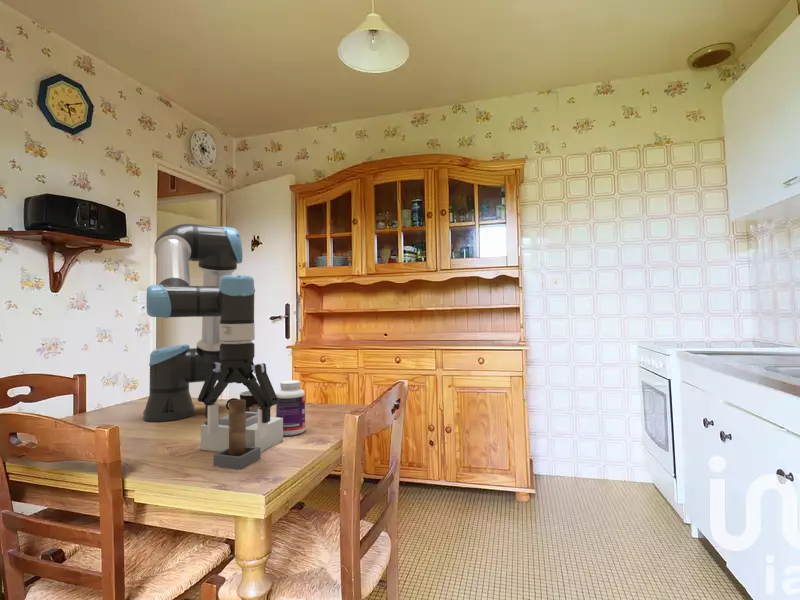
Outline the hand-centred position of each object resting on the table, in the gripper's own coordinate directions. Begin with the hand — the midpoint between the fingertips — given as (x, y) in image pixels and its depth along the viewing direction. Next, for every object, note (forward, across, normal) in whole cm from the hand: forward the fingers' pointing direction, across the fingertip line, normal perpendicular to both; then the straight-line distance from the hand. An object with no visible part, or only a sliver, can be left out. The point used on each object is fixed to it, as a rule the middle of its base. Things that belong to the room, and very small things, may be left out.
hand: (237, 434), depth 96 cm
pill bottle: (+6, -1, +24) cm, 25 cm away
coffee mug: (+6, -17, +27) cm, 33 cm away
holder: (+6, 0, 0) cm, 6 cm away
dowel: (+6, 0, 0) cm, 6 cm away
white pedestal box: (+6, -7, +11) cm, 14 cm away
